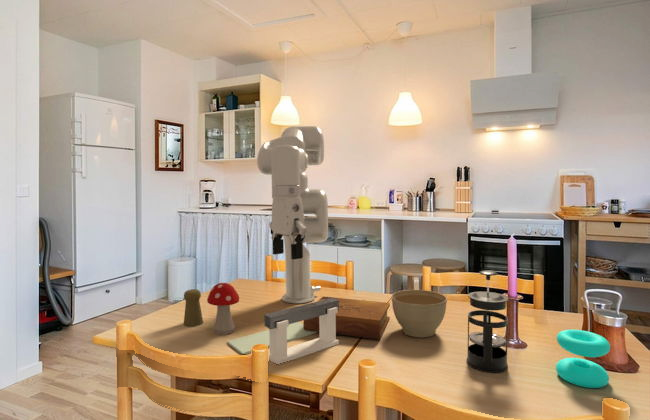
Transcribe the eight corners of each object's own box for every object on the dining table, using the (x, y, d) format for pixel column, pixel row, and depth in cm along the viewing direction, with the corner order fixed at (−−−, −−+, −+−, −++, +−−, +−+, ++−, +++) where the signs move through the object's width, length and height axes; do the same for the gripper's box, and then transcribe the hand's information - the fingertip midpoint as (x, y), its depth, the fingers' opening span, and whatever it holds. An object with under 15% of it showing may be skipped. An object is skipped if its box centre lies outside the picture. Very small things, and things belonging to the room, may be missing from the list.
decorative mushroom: (201, 334, 117) (200, 285, 116) (219, 324, 125) (218, 278, 124) (229, 338, 113) (228, 288, 112) (246, 328, 121) (244, 281, 120)
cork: (197, 327, 123) (195, 293, 122) (179, 326, 124) (178, 292, 123) (206, 320, 129) (205, 288, 128) (189, 319, 130) (188, 287, 129)
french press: (466, 352, 102) (467, 265, 101) (506, 357, 99) (507, 268, 97) (465, 372, 91) (467, 276, 90) (510, 379, 88) (512, 279, 86)
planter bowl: (447, 325, 121) (447, 291, 121) (445, 346, 106) (446, 307, 105) (395, 320, 127) (395, 287, 126) (387, 339, 111) (387, 301, 111)
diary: (303, 331, 117) (303, 312, 116) (323, 312, 134) (322, 296, 134) (379, 340, 110) (379, 320, 109) (389, 319, 127) (389, 302, 127)
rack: (327, 338, 113) (326, 302, 112) (339, 344, 108) (338, 307, 108) (266, 357, 100) (265, 318, 100) (277, 365, 96) (276, 323, 95)
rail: (332, 308, 112) (332, 297, 111) (339, 310, 109) (338, 300, 109) (264, 326, 98) (264, 314, 98) (270, 329, 96) (270, 317, 96)
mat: (297, 323, 125) (297, 321, 125) (316, 332, 117) (316, 330, 117) (227, 343, 110) (227, 341, 110) (243, 355, 102) (243, 353, 102)
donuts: (618, 347, 81) (564, 342, 84) (616, 393, 82) (562, 387, 84) (600, 329, 90) (551, 325, 93) (598, 371, 91) (550, 366, 94)
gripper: (316, 192, 99) (317, 259, 100) (281, 192, 113) (283, 250, 114) (291, 192, 94) (292, 262, 95) (258, 192, 108) (259, 253, 109)
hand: (287, 256), depth 104 cm, fingers open, 9 cm apart
